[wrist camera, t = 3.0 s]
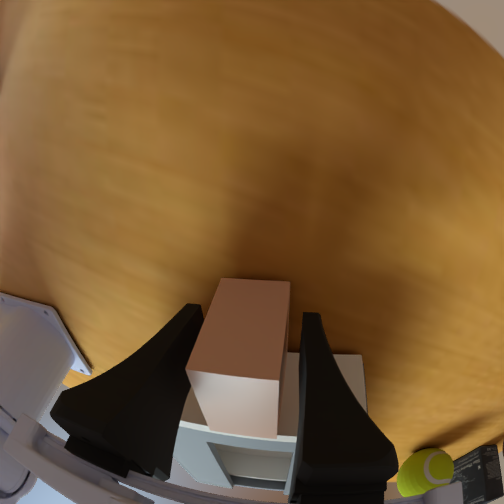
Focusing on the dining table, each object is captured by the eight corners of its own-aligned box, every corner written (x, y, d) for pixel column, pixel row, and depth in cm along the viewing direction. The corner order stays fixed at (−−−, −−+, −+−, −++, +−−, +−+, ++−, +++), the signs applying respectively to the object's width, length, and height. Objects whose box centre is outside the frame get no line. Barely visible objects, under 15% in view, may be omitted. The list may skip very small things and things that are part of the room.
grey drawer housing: (207, 441, 26) (196, 481, 22) (166, 347, 17) (136, 412, 13) (324, 452, 24) (321, 495, 20) (363, 363, 15) (369, 440, 11)
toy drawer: (208, 439, 25) (196, 483, 20) (142, 269, 14) (88, 346, 10) (322, 451, 23) (318, 498, 19) (382, 282, 12) (407, 381, 8)
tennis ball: (461, 435, 21) (468, 486, 15) (429, 457, 24) (433, 502, 19) (414, 440, 21) (419, 498, 16) (385, 461, 25) (386, 510, 19)
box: (480, 444, 23) (487, 502, 15) (497, 443, 23) (505, 495, 15) (433, 470, 28) (435, 521, 20) (453, 468, 28) (456, 515, 20)
